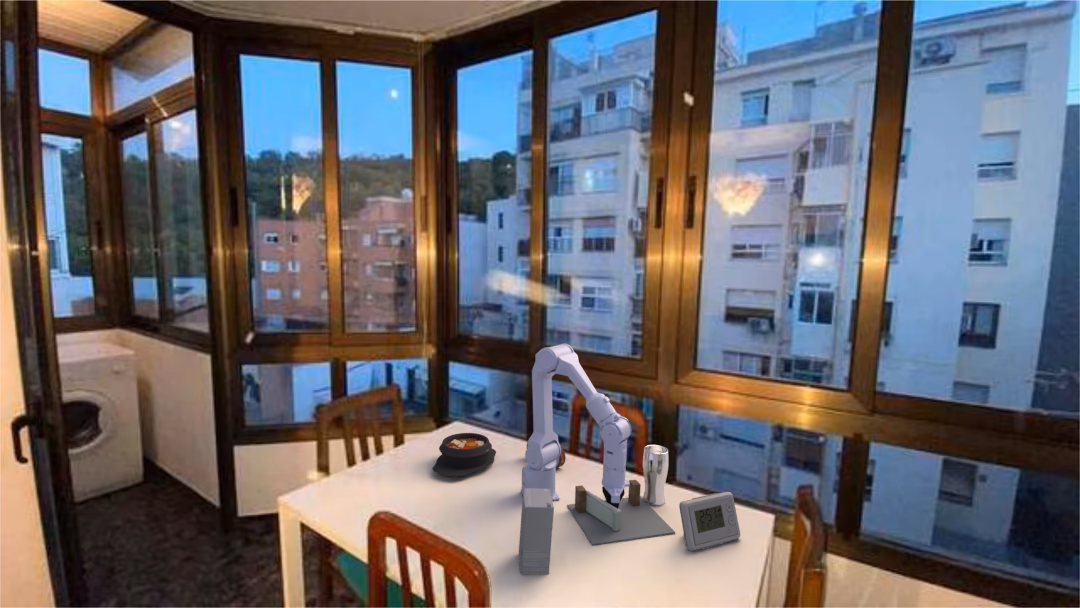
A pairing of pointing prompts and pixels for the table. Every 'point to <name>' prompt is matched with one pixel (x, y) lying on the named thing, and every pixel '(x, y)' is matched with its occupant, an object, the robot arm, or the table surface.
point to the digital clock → (709, 520)
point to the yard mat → (623, 524)
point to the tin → (561, 458)
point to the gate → (603, 511)
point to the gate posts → (632, 497)
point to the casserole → (464, 454)
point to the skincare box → (536, 531)
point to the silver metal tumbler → (655, 473)
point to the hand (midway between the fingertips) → (612, 515)
